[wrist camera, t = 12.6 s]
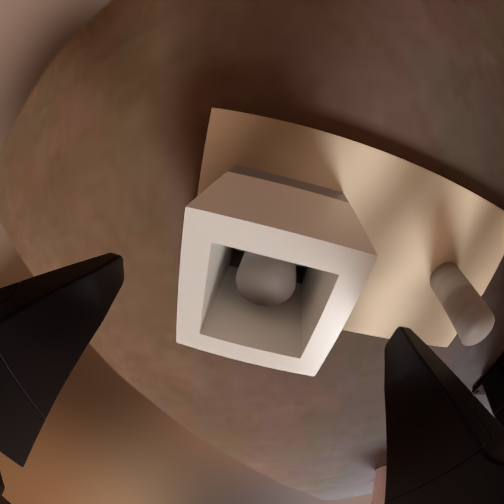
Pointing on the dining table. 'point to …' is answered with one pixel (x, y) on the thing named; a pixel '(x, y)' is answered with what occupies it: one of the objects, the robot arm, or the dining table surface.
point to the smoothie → (379, 486)
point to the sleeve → (275, 246)
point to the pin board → (374, 228)
